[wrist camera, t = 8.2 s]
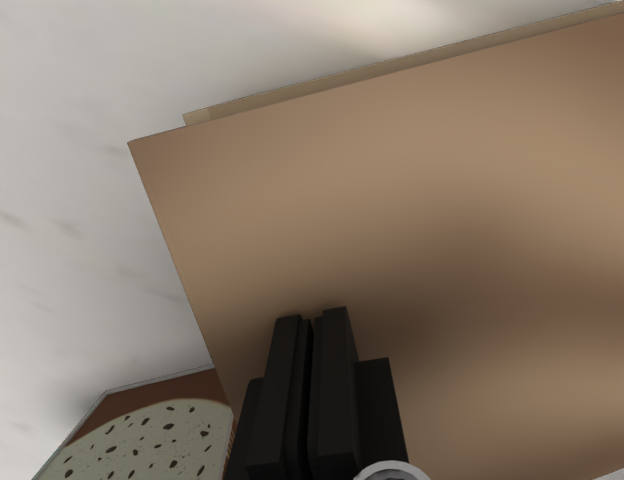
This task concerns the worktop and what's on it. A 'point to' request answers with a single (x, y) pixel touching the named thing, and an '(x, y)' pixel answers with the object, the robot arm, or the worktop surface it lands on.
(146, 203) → the worktop surface
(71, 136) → the worktop surface
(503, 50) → the lid
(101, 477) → the food container
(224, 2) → the worktop surface
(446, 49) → the crate
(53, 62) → the worktop surface
